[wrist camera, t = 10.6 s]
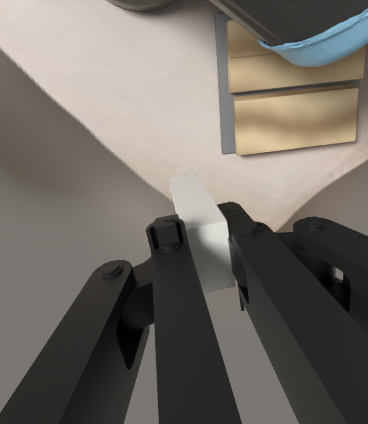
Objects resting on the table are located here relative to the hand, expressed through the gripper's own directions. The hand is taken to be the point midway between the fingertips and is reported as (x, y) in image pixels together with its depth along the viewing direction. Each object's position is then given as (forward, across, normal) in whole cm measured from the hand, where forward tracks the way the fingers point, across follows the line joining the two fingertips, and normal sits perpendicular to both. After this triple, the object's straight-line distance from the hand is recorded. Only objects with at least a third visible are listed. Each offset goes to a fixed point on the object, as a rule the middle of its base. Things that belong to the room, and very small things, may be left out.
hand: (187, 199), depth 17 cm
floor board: (+27, +19, +7) cm, 34 cm away
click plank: (+26, +18, -1) cm, 32 cm away
